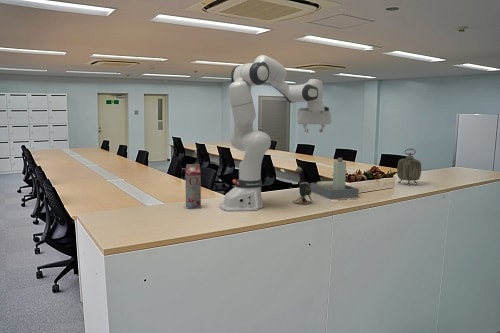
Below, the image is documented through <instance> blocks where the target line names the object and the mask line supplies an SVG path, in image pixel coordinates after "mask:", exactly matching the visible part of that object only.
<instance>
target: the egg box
mask: <svg viewBox="0 0 500 333" xmlns="http://www.w3.org/2000/svg"><path fill="white" fill-rule="evenodd" d="M315 183H316V185H319V186H322V187H324V188H327V189H330V190H333V180H330V181H327V180H326V181H317V182H315Z"/></svg>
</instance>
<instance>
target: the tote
mask: <svg viewBox="0 0 500 333" xmlns="http://www.w3.org/2000/svg"><path fill="white" fill-rule="evenodd" d="M316 183H317V182H310V183H309V185H310V187H311V193H314V194H316V195H318V196H321V197H324V198H326V199H329V200H340V201H348V200H347V199H356V200H359V195H360V194H359V191H360V190H359V188H358V187H354V186H350V185H349V184H345V189H339V190H330V189H327V188H324V187H322V186H319V185H316Z"/></svg>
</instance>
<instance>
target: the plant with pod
mask: <svg viewBox="0 0 500 333" xmlns="http://www.w3.org/2000/svg"><path fill="white" fill-rule="evenodd" d="M302 171H303V168H301V167H300V166H297V167H296V169H295V174H298V176H299V178H301V174H302ZM298 190H299V196H300V197H298V198H297V199H296V200H293V201H292V203H295V204H296V203H297V204H301V205H302V204H303V205H309V204H308V203H310V204H311V202H313V199H312V198H311V194H312V192H311V187H310V183H309V182H307V181H303V182H301V179H299V184H298ZM306 196H308V198H309V199H310V201H311V202H310V201H309V200H307V199H306Z"/></svg>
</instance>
